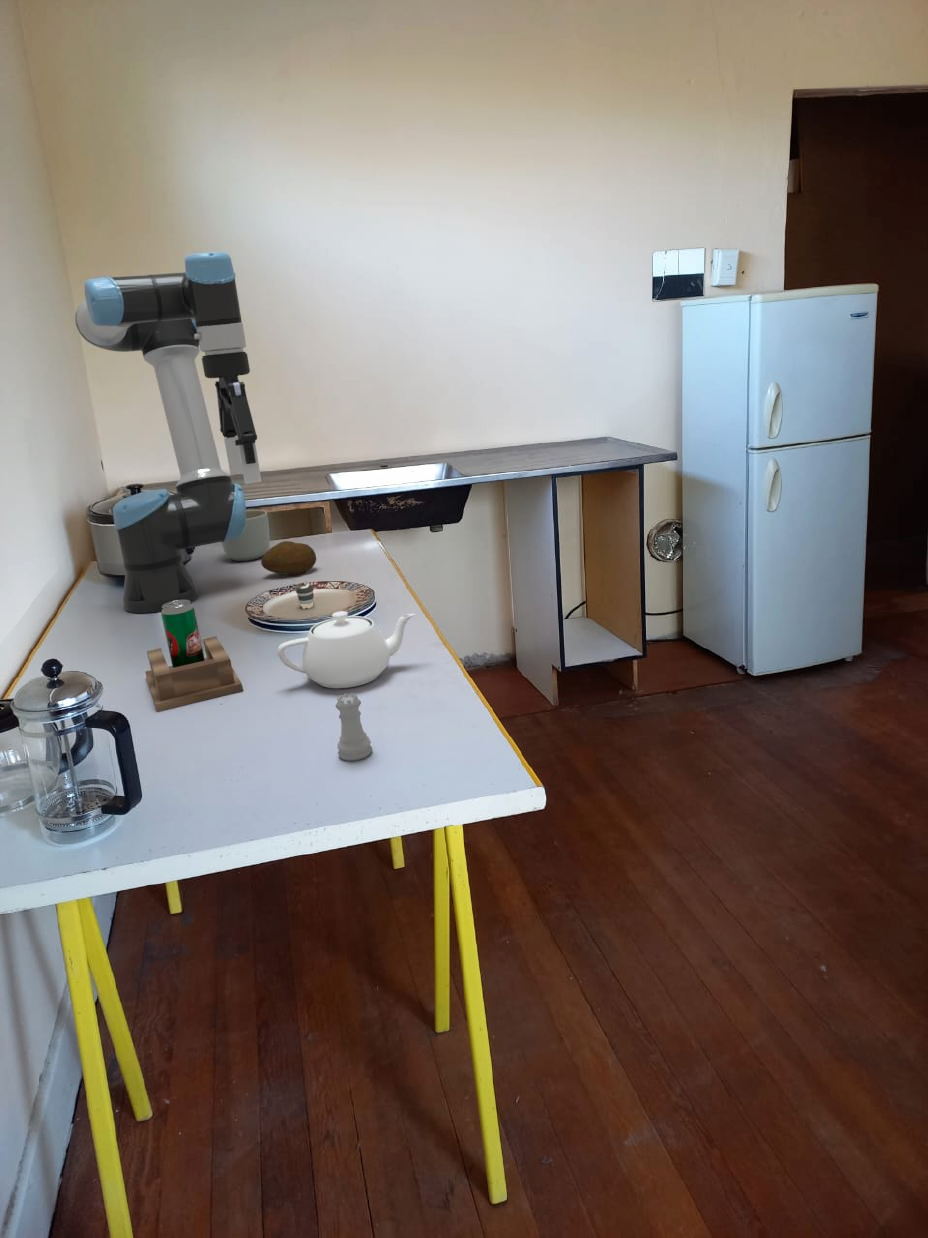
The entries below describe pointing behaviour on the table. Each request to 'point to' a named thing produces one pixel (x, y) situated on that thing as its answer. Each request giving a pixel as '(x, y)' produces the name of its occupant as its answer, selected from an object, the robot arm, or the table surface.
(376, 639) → the teapot
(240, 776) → the table surface
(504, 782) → the table surface
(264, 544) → the planter
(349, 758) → the rook chess piece
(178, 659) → the soda can
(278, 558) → the potato
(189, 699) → the cradle
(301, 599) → the coffee cup
